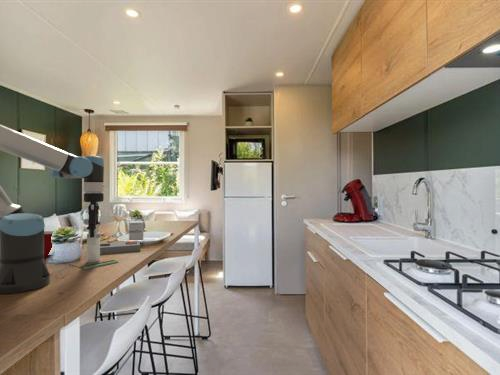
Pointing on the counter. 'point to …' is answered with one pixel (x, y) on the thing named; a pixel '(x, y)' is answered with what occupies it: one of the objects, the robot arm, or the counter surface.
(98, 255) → the block
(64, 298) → the counter surface
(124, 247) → the dock
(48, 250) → the plastic cup
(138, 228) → the supplement box
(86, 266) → the mat
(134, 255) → the counter surface
